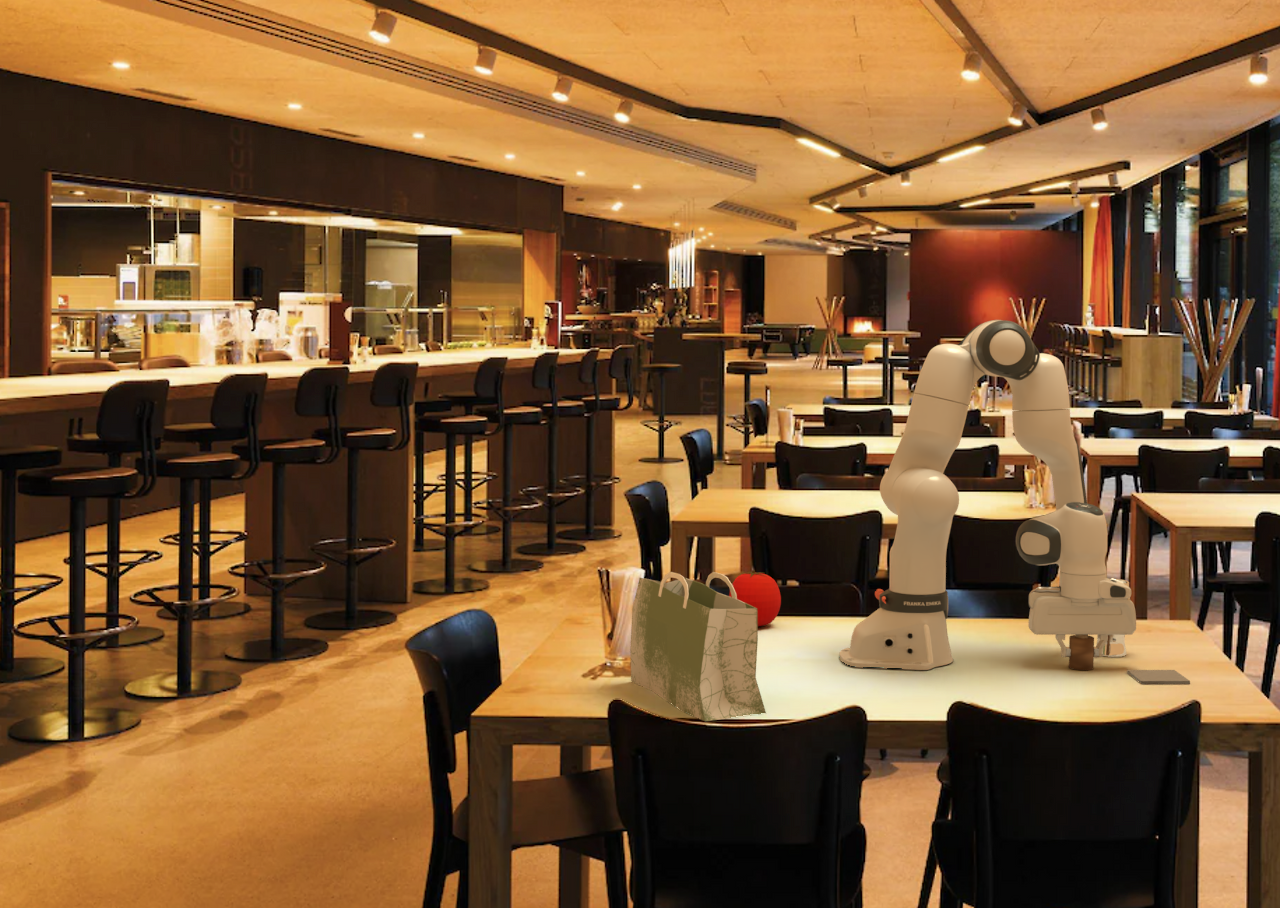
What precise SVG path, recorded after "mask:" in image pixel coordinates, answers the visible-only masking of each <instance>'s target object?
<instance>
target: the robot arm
mask: <svg viewBox="0 0 1280 908" xmlns="http://www.w3.org/2000/svg"><path fill="white" fill-rule="evenodd" d="M921 367H922V368H921V369H920V371H919V374H918V378H917V381H916V383H915V387H914V391H913V396H912V399H911V404H910V408H909V412H908V415H907V419H906V423H905V428H904V430H903V434H902V435H901V436H902V437H901V439H900V441H899V444H898V445H897V448H896V451H895V453H894V455H893V456H892V460H891V462H890V464H889V467H888V470H887V471H886V472H885V473H884V474H883V476H882V478H881V481H880V484H879V493H880V497H881V499H882V501H883V503H884V505H885V506H886V507H887V508H888V510H889V511H890V512H891V513H892V514H894V515H896V516H897V524H896V530H895V535H894V540H893V542H892V546H891V547H890V551H889V588H888V589H886V590H885V591H884V590H883V589H881V588H877V589H876V591H874V597H875V598H876V599H877V600H878V604H879V605H878V607H879V608H877V610H875V611H873V612H872V613H871V614H870V615H869V616H867V617H866V618H864V619H863V620H862V621H860V622H859V623H857V624H856V625H855V626H854V629H853V632H852V634H851V639H850V644H849V647H845V648H843V649H841V650H840V652H839V656H840V658H839V660H840V659H841V660H840V662H841V661H842V662H844V663H845V664H844V663H843V664H844V665H846V664H847V665H846V666H848V665H850V666H849V667H851V666H856V667H855V668H863V667H884V668H883V669H887V668H902V669H901V670H912V671H915V670H916V671H928V670H932V669H933V668H937V667H941V666H946V665H948V664H951V663H952V662H954V657H953V655H952V650H951V646H950V640H949V634H948V627H947V625H948V624H947V619H948V615H949V594H948V591H947V590H946V583H947V582H946V580H947V579H946V578H947V577H946V575H947V574H946V573H947V567H946V566H947V562H946V561H947V549H948V543H949V538H950V534H951V529H952V524H953V518H954V516H955V514H956V513H957V511H958V508H959V504H960V495H959V491H958V489H957V487H956V485H955V484H954V483H953V481H951V479H950V478H949V477H948V476H947V475H945V470H946V467H947V466H948V463H949V461H950V459H951V457H952V456H953V454H954V452H955V450H956V449H957V448H958V447H959V445H960V443H961V439H962V436H963V431H964V427H965V424H966V419H967V415H968V410H969V406H970V403H971V398H972V394H973V393H972V392H973V390H974V388H975V386H976V384H977V382H978V381H979V379H980V378H982V377H984V376H990V377H999V378H1003V379H1005V381H1007V383H1008V385H1009V389H1010V392H1011V395H1012V396H1011V397H1012V398H1011V401H1012V402H1011V405H1012V407H1011V409H1012V410H1011V411H1012V428H1013V429H1012V430H1013V433H1014V437H1015V440H1016V442H1017V443H1018V444H1019V446H1020V447H1022V449H1023V450H1024V451H1026V452H1028V454H1030V455H1033V456H1034V457H1037V458H1039V459H1040V460H1041V461H1043V463H1045V464H1046V466H1047V467H1048V469H1049V471H1050V474H1051V479H1052V481H1051V482H1052V486H1053V495H1054V502H1055V511H1052V512H1050V513H1048V514H1045V515H1039V516H1035V517H1033V518H1030V519H1027V520H1025V521H1023V522H1022V523H1021V524H1020V525H1019V527H1018V528H1017V531H1016V535H1015V547H1016V550H1017V552H1018V554H1019V556H1020V557H1021V558H1022V559H1023V560H1024V561H1025V562H1026V563H1027V564H1030V565H1035V566H1048V565H1055V564H1056V565H1057V566H1058V567H1059V575H1058V577H1059V582H1058V583H1059V584H1058V585H1059V586H1037V587H1036V588H1034V589H1032V590H1031V591H1030V592H1029V594H1028V607H1029V608H1030V609H1029V613H1028V614H1029V616H1028V629H1029V630H1030V631H1031V633H1033V634H1034V635H1049V636H1051V635H1055V640H1056V641H1057V643H1058V644H1059V647H1060V654H1061V657H1062V658H1069V657H1070V656H1071V654H1070V652H1071V648H1069V646H1066V645H1065V643H1064V641H1065V640H1066V636H1067V635H1068V636H1071V635H1088V636H1093V635H1095V636H1097V635H1098V638H1099V639H1100V641H1099V642H1098V644H1097V643H1096V645H1097V646H1096V645H1095V646H1094V658H1102V657H1103V656H1102V649H1103V647H1104V645H1105V644H1106V642H1107V641H1108V635H1125V636H1126V635H1127V636H1131V635H1133V634H1134V633H1135V632H1136V630H1137V615H1136V614H1137V613H1136V608H1135V604H1134V602H1133V601H1132V600H1131V596H1132V589H1131V587H1130V586H1129V587H1128V586H1127V585H1125V584H1123V583H1120V582H1118V581H1115V580H1112V579H1113V578H1108V576H1107V573H1108V571H1107V566H1106V555H1107V552H1108V526H1107V525H1108V524H1107V520H1106V515H1105V513H1104V511H1103V509H1101V508H1100V507H1098V506H1096V505H1094V504H1090V503H1088V498H1087V491H1086V484H1085V476H1084V468H1083V462H1082V456H1081V452H1080V448H1079V444H1078V443H1077V441H1076V438H1075V436H1074V432H1073V428H1072V427H1073V426H1072V421H1071V409H1070V408H1071V406H1070V394H1069V386H1068V379H1067V374H1066V371H1065V370H1066V369H1065V366H1064V363H1062V361H1061V359H1059V358H1058V357H1056V356H1054V355H1052V354H1049V353H1043V352H1041V353H1040V351H1039V349H1038V348H1037V347H1036V345H1035V342H1034V341H1033V340H1032V338H1031V337H1030V335H1029V333H1028V332H1027V330H1025V329H1024V327H1022V326H1021V325H1020V324H1018V323H1016V322H1014V321H1011V320H1007V319H1006V320H1002V319H994V320H993V319H992V320H988V321H985V322H983V323H980V324H978V325H976V326H975V327H973V328H972V329H971V330H970V331H968V333H967V335H965V336H964V338H963V339H962V340H961V341H960V342H959V343H958V344H955V343H943V344H942V343H941V344H937V345H936V346H934V347H932V348H931V349H930V350H929V352H928V353H927V356H926V358H925V360H924V362H923V364H922V366H921ZM1128 598H1130V599H1128ZM842 662H841V663H842Z"/></svg>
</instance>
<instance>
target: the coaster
mask: <svg viewBox="0 0 1280 908" xmlns="http://www.w3.org/2000/svg"><path fill="white" fill-rule="evenodd" d="M1126 674H1128V675H1129V674H1130V675H1131V676H1132V677H1131V676H1130V675H1129V676H1130V677H1131V678H1133V677H1134V678H1135V679H1136V680H1135V679H1134V678H1133V679H1134V680H1135V681H1137V682H1138V681H1139V682H1140V683H1141V684H1140V683H1139V682H1138V683H1139V684H1140V685H1190V684H1191V681H1190V680H1189V679H1188V678H1187V677H1185V676H1184V675H1182V674H1181V673H1179V672H1178V671H1176V670H1175V669H1127V670H1126Z"/></svg>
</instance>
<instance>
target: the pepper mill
mask: <svg viewBox="0 0 1280 908" xmlns="http://www.w3.org/2000/svg"><path fill="white" fill-rule="evenodd" d="M1068 641H1069V642H1068V643H1069V644H1068V647H1069V648H1071V652H1070V654H1071V656H1070V657H1068V668H1069V669H1071V670H1077V671H1091V670H1094V660H1095V659H1094V658H1095V657H1094V647H1095V637H1094V636H1093V635H1069V640H1068Z"/></svg>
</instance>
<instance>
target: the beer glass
mask: <svg viewBox="0 0 1280 908" xmlns="http://www.w3.org/2000/svg"><path fill="white" fill-rule="evenodd" d="M1111 579H1112V580H1115V581H1118V582H1120V583H1123V584H1125V585H1127V586H1128V587H1129V588H1130V582H1129V581H1128V580H1126V579H1120V578H1111ZM1128 599H1130V600H1131V597H1130V598H1128ZM1096 636H1097V639H1096V645H1095V647H1096V646H1097V644H1098V642H1099V641H1100V639H1099V638H1098V635H1096ZM1125 636H1126V635H1108V641H1107V642H1106V644H1105V645H1104V647H1103V649H1102V656H1101V657H1104V656H1108V657H1107V658H1123V657H1122V656H1124V657H1126V656H1127V649H1126V642H1125V640H1126V639H1125ZM1125 655H1126V656H1125Z"/></svg>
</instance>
